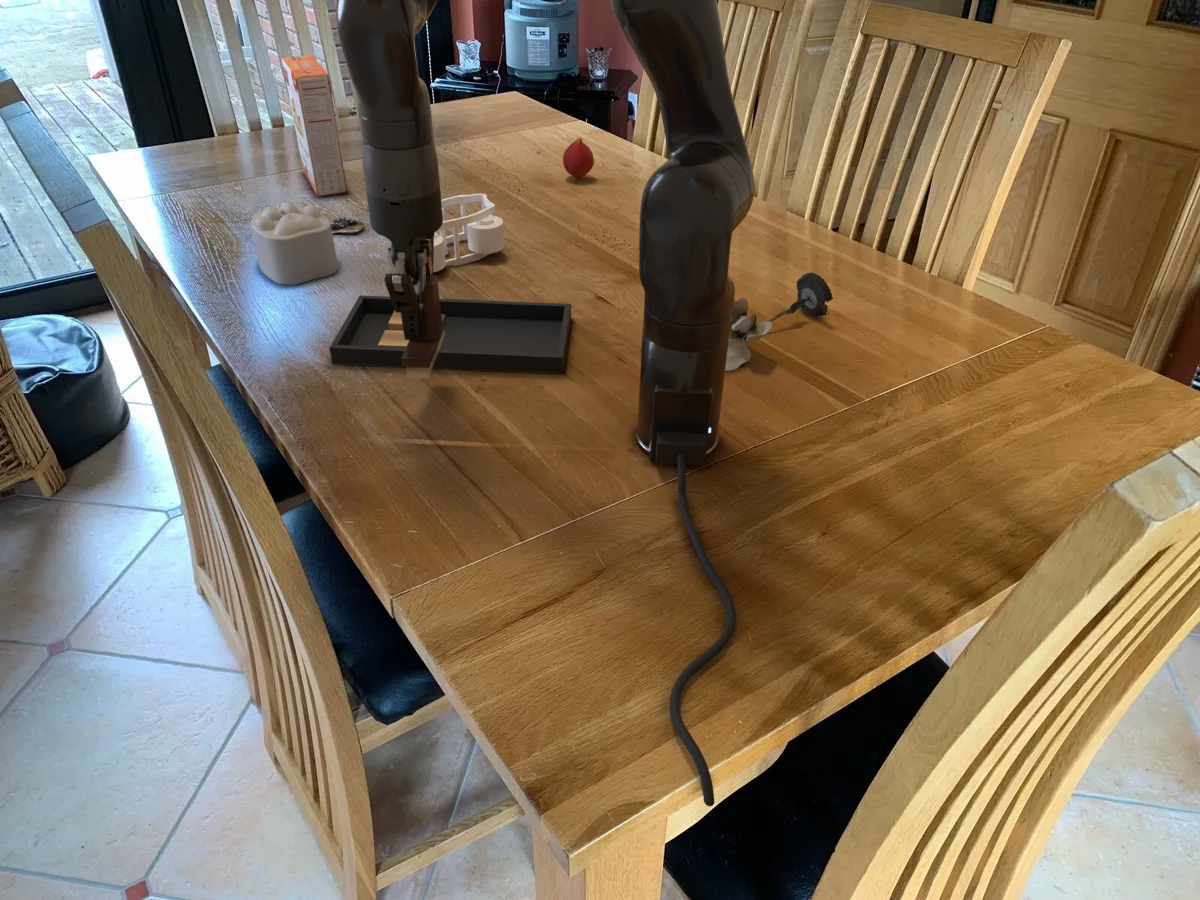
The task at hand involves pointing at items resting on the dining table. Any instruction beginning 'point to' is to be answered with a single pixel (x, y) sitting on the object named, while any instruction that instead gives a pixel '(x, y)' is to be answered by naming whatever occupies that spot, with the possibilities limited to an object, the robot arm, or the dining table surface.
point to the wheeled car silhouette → (468, 232)
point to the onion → (578, 159)
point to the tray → (465, 335)
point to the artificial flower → (745, 327)
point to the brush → (425, 351)
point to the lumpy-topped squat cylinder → (294, 243)
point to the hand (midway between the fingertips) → (418, 330)
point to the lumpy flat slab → (346, 225)
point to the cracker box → (315, 124)
